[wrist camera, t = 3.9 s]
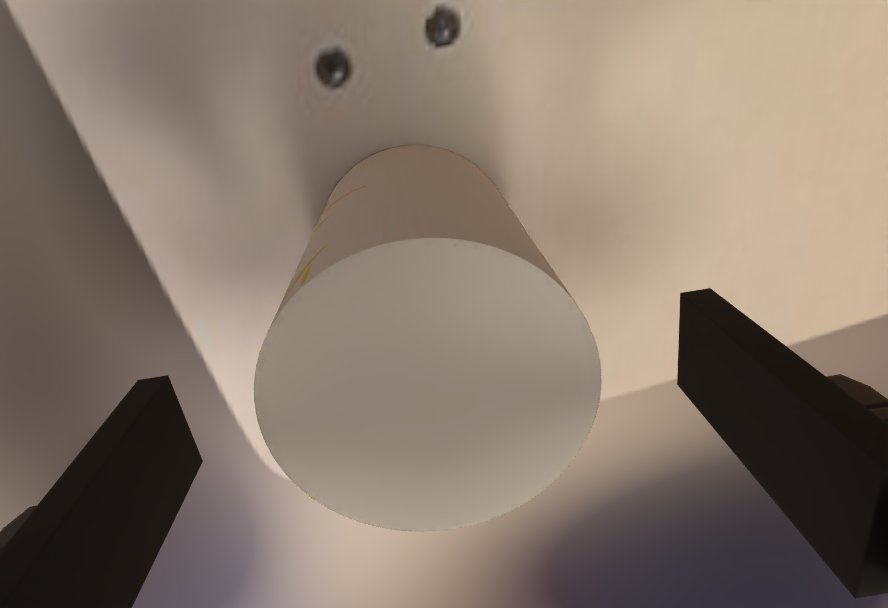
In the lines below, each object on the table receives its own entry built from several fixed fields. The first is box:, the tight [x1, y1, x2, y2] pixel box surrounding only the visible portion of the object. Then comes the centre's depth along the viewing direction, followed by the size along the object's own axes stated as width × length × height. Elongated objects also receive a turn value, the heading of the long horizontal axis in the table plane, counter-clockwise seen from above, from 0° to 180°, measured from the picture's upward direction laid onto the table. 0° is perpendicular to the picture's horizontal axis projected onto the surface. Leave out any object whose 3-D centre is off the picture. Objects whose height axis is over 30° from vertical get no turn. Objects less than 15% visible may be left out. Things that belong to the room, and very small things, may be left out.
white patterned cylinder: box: [254, 145, 601, 532], centre depth 19 cm, size 8×8×12 cm
